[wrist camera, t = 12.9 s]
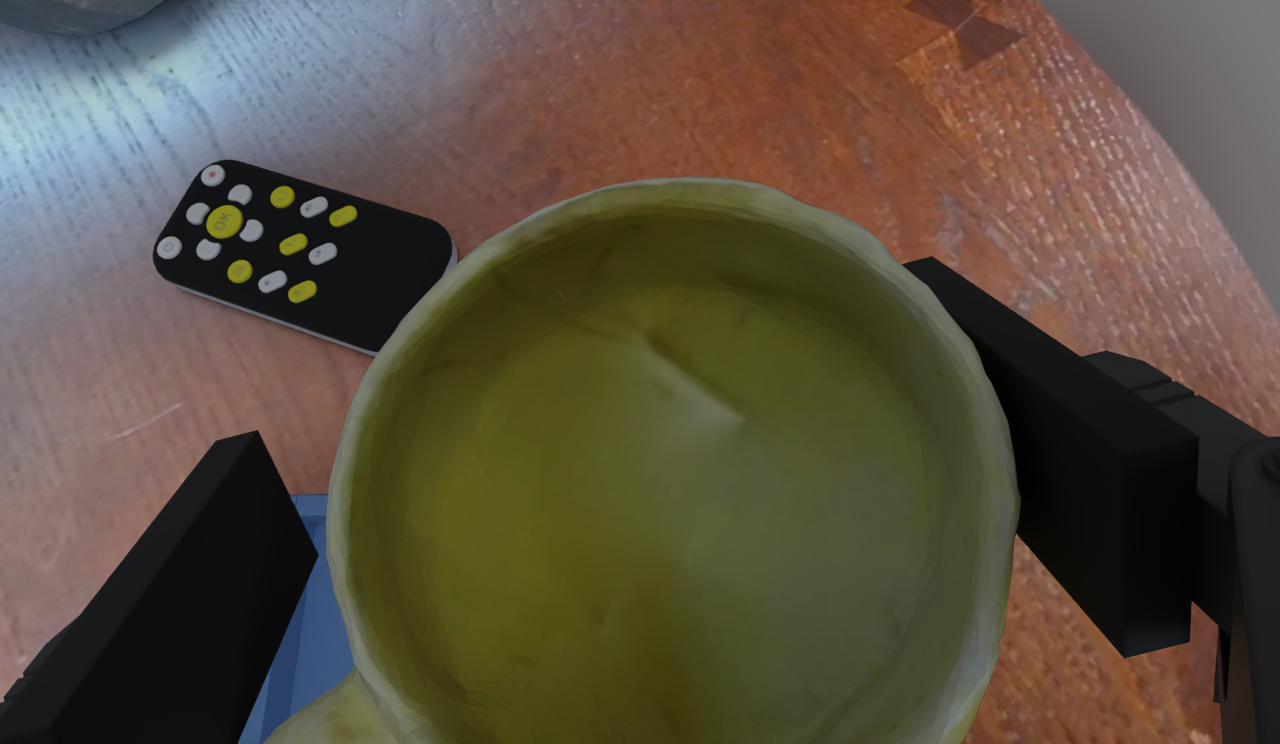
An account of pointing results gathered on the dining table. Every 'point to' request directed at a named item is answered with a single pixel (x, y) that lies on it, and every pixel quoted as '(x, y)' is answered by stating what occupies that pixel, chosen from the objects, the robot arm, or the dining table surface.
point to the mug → (670, 490)
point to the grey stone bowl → (72, 15)
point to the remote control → (301, 254)
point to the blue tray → (304, 640)
